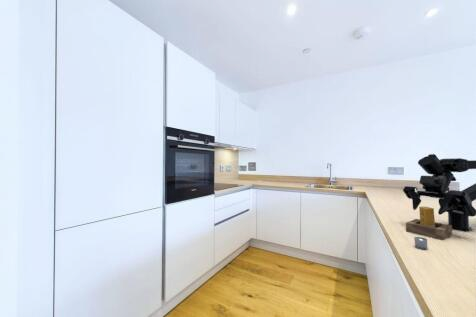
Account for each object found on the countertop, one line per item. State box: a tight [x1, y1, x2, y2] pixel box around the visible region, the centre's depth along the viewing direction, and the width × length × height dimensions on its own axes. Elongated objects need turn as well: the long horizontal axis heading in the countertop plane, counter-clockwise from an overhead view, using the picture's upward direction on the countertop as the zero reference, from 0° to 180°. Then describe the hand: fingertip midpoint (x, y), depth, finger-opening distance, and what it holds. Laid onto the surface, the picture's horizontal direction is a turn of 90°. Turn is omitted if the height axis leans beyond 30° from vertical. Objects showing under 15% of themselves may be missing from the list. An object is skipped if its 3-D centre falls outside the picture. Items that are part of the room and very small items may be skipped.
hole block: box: [405, 218, 453, 241], centre depth 76 cm, size 10×10×4 cm
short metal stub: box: [413, 236, 429, 251], centre depth 62 cm, size 3×3×3 cm
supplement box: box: [418, 206, 436, 227], centre depth 75 cm, size 3×3×10 cm
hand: (425, 211), depth 75 cm, fingers open, 7 cm apart
